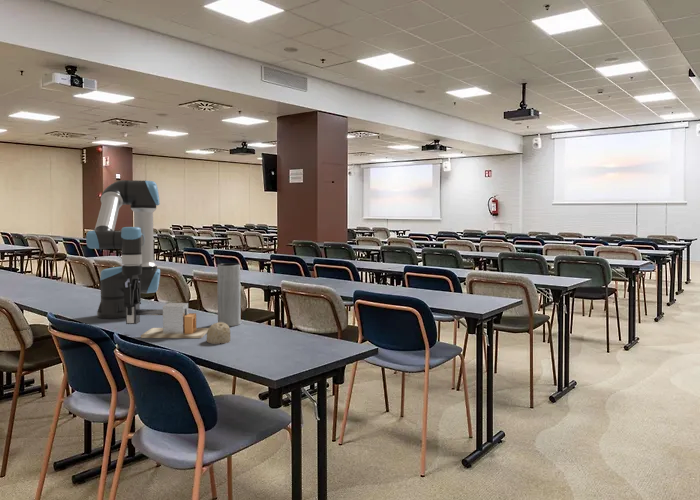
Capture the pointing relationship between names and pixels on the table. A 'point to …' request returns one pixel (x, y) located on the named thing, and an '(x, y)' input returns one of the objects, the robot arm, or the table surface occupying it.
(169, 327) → the grey upright block
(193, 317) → the block
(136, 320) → the shaft
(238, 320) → the vase
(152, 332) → the board
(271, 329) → the table surface
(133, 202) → the robot arm
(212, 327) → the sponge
